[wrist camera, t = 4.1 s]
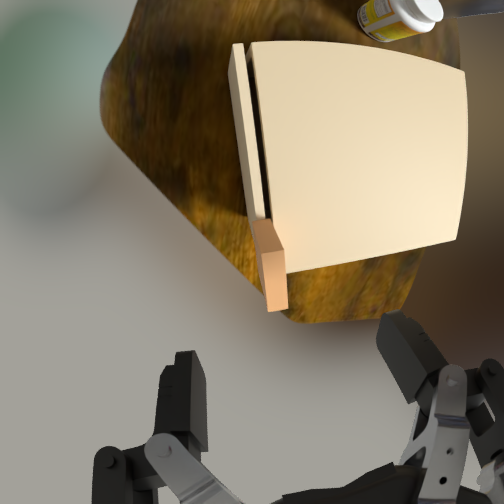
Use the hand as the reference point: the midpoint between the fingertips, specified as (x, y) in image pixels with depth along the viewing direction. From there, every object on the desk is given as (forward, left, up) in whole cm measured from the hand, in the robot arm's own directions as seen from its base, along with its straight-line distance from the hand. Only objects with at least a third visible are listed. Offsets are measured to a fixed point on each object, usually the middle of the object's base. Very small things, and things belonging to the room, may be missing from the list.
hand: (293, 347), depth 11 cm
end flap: (0, -5, -21) cm, 22 cm away
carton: (-10, -5, -21) cm, 24 cm away
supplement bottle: (-18, -20, -22) cm, 35 cm away
